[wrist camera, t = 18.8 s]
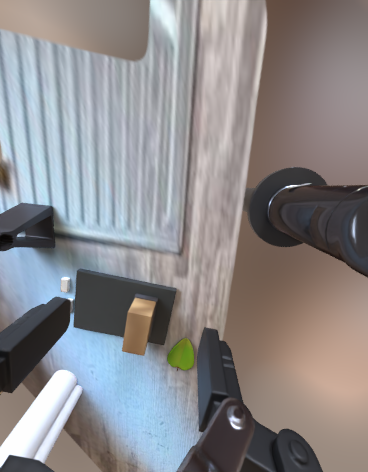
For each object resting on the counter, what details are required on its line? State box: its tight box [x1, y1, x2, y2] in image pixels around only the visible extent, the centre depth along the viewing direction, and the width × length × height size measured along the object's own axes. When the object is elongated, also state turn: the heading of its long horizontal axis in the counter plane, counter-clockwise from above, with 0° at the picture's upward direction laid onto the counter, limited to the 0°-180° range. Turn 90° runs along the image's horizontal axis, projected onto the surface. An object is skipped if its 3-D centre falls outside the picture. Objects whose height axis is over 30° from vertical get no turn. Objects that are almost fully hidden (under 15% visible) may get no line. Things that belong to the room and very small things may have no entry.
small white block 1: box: [61, 277, 70, 293], centre depth 42 cm, size 2×3×1 cm, turn 168°
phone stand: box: [0, 203, 55, 251], centre depth 33 cm, size 9×6×12 cm, turn 173°
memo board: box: [74, 269, 176, 345], centre depth 43 cm, size 22×15×1 cm
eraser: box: [122, 294, 158, 356], centre depth 39 cm, size 5×10×6 cm, turn 168°
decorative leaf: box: [167, 338, 194, 371], centre depth 46 cm, size 8×9×1 cm
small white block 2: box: [67, 298, 74, 313], centre depth 43 cm, size 2×3×1 cm, turn 168°
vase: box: [0, 370, 83, 467], centre depth 41 cm, size 11×7×20 cm, turn 10°
